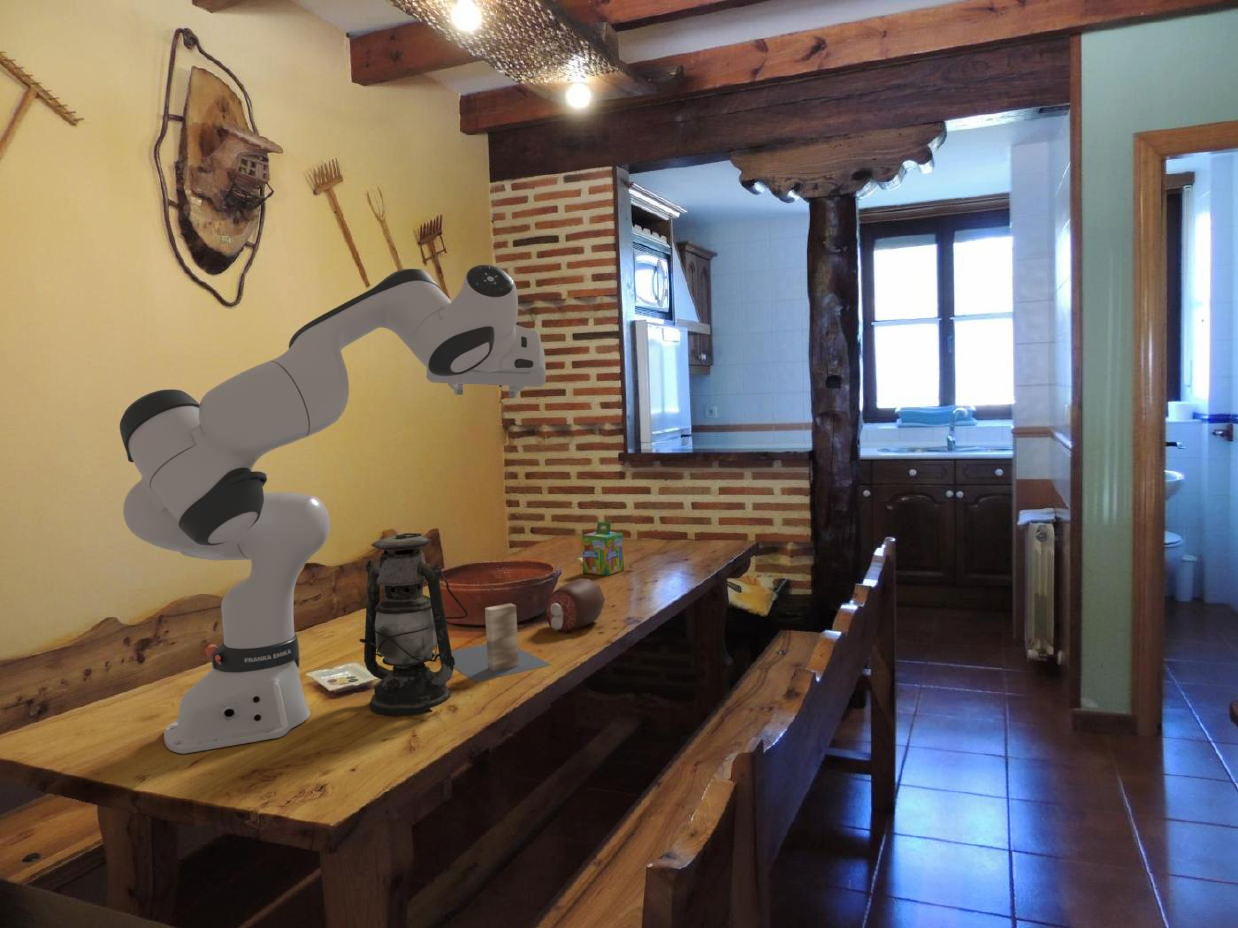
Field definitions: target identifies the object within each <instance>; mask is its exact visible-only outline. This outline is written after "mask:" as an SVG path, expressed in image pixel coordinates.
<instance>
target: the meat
mask: <svg viewBox="0 0 1238 928" xmlns="http://www.w3.org/2000/svg"><path fill="white" fill-rule="evenodd" d="M605 600H606V598H605V596H604V593H603V592H602V588H601V586H600V585H599V584H598V583H596V582H595V581H593V580H592V579H589V578H578V579H574V580H572V581H570V582H567V583H565V584H563V585H561V586H559V587H558V588H557V589H556V590H554V591H552V592H551V594H549V595H548V597H547V600H546V603H545V606H544V610H543V613H544V616H545V618H546V620H547V622H548V623H547V624H548V625H549V627H551V628H552V629H554V630H555V631H556V632H557V633H558V634H570V633H573V632H575V631H577V630H578V629H581V628H584V627H585V626H588V625H590V624H592V623H594V622H595V621H596V620H597V619H598V618H599V616H600V615H601V614H602V611H603V607H604V604H605ZM572 631H573V632H572Z"/></svg>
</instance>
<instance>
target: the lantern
mask: <svg viewBox="0 0 1238 928" xmlns="http://www.w3.org/2000/svg"><path fill="white" fill-rule="evenodd" d="M431 541H432V539H431V538H428V537H425V536H422V533H415V532H414V533H411V532H406V533H401V534H396V535H395V536H394V535H393V536H388V537H383V538H381V539H379V540H378V539H377V541H374V542H372V543H371V545H370V546H371V547H373V548H374V549H375V548H376V549H379V550H383V553H381V556H379V561H376V562H374V563H372V561H371V559H369V560H367V561H366V565H365V566H364V567H365V571H366V573H367V581H366V583H367V586H366V604H365V605H366V606H365V607H366V609H365V625H364V629H365V630H364V638H359V639H358V640H359V642H361V643H362V644H363V645H364V647H363V649H364V650H363V662H364V664H365V667H366V670H367V671H368V672H369V673H370V674H371V676H373V677H374V678H377V679H380V681H377V682H376V683H375V685H374V686H373V689H374V690H373V691H374V694H373V695H372V696H371V699H370V701H369V704H368V705H369V706H368V707H369V710H370V711H371V712H373V713H374V714H377V715H380V716H386V717H399V718H400V717H410V716H411V717H412V716H417V715H423V714H426V713H431V712H433V710H432V709H431V708H434V707H438V706H440V705H442V704H443V703H445V702H447V701H448V700H449V699H450V698H451V697H452V693H451V690H450V688H449V687H448V686H447V682H449V681H450V680H451V678H452V677H453V673H454V670H455V669H454V665H455V660H454V656H452V653H451V651H452V648H451V643H450V637H449V631H448V630H449V629H448V623H447V620H449V619H454V620H455V619H456V620H458V619H464V618H465V619H466V618H467V617H468V615H469V614H468V611H467V610H466V609H465V607H464V606H463V604H462V603H461V602H460V601H459V599H458V598H457V596H455V595H454V593H453V592H452V591H451V589H450V588H449V587H450V586H449V582H448V579H447V578H446V577H445V576H444V574H443V571H442V567H441V565H440V563H439V562H436V563H435V564H434V565H435V566H433V565H431V564H429V563H426V559H425V553H424V552H423V550H421V549H420V548H421V547H422V546H426V545H428V544H429V543H430V542H431ZM440 577H441V578H442V580H443V581H444V582H445V585H446V590H447V592H448V593H449V594H450V595H451V597H452V598H453V600H454V601H455V602H456V603H457V604H458V606H459V607H460V608H461V609H462V611H463V612H464V613H465V615H463V616H446V612H445V606H444V599H443V595H442V589H441V582H440ZM423 582H427V587H428V594H429V595H426V594H424V584H423ZM381 586H384V592H385V598H384V599H381V600H380V592H381V590H380V588H381ZM437 651H438V653H437ZM435 654H437V655H436V656H435ZM438 656H440V659H439V662H440V669H439V670H437V671H432V670H431V667H429V666H426V663H427V662H431V663H432V662H433V663H435V662H437V660H438V658H437V657H438ZM377 657H380V658H382V660H381V661H382V663H383V664H384V665H386V666H391V667H392V669H388V668H386V667H384V666H382V665H380V664H379V662H378V661H377Z"/></svg>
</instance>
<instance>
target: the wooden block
mask: <svg viewBox="0 0 1238 928" xmlns="http://www.w3.org/2000/svg"><path fill="white" fill-rule="evenodd" d="M484 612H485V614H484V617H485V631H486V632H485V634H486V644H487V656H488V668H489V669H490V670H492V671H497V670H501V669H506V668H510V667H515V666H519V657H518V648H519V641H518V640H519V639H518V638H519V637H518V620H517V619H518V618H517V617H518V616H517V605H516V604H513V603H512V602H511V603H505V604H499V605H495V606H494V605H493V606H489V607H488V606H487V607H485V608H484Z"/></svg>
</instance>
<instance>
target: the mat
mask: <svg viewBox="0 0 1238 928" xmlns="http://www.w3.org/2000/svg"><path fill="white" fill-rule="evenodd" d="M451 653H452V656H454V660H455V665H454V669H453V670H456V671H457V672H459V673H460V674H462V675H464V676H465V677H467V678H468V679H470V680H471V681H473V682H475V683H479V682H484V681H488V680H493V679H496V678H501V677H506V676H510V675H515V674H519V673H523V672H527V671H531V670H536V669H540V668H545V667H548V666H549V667H550V666H552V664H551V663H549V662H547V661H545V660H543V659H541V658H539V657H538V656H535V655H533V654H531V653H529V652H527V651H525V650H523V649H521V648H519V647H518V657H519V666H515V667H510V668H506V669H501V670H497V671H492V670H490V669H489V668H488V656H487V643H484V644H478V645H474V646H469V647H464V648H459V649H455V650H451ZM434 654H435V653H434ZM437 654H438V653H436V654H435V656H436V655H437ZM438 659H439V660H440V656H438V657H437V660H438Z"/></svg>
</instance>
